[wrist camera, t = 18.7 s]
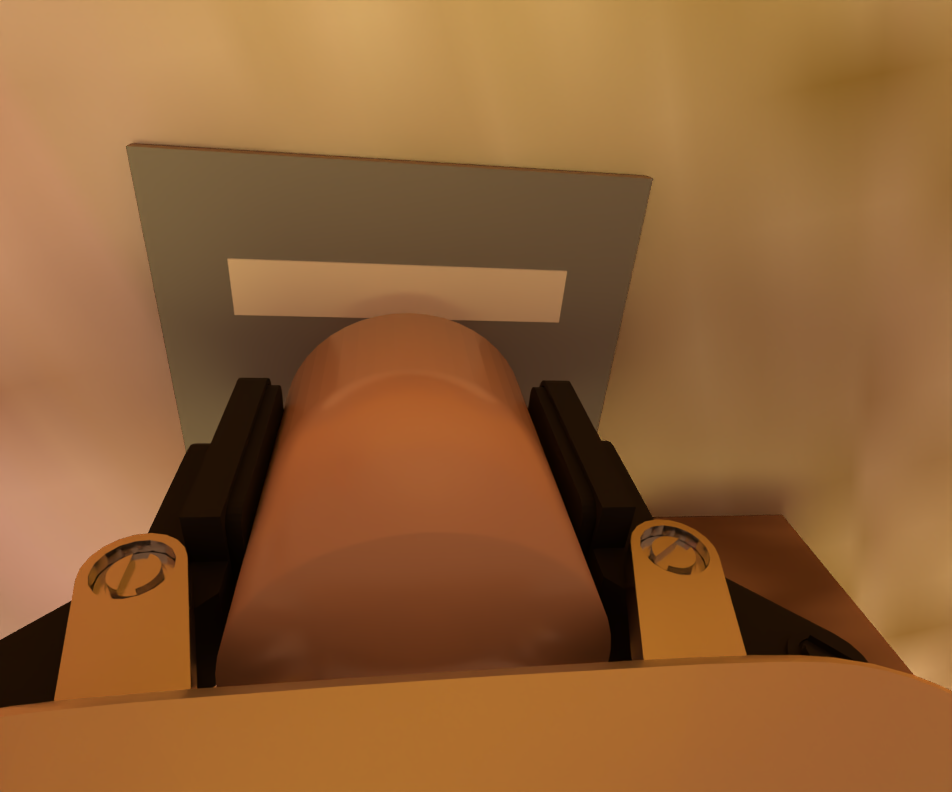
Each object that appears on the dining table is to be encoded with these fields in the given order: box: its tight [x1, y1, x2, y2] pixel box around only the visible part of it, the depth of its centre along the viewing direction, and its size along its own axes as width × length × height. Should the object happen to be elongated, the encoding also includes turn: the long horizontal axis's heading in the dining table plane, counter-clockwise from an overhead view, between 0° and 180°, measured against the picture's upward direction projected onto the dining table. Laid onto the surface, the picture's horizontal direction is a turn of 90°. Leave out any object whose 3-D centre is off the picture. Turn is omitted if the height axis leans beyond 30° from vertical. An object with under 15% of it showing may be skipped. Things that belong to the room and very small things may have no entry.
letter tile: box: [126, 144, 653, 452], centre depth 14 cm, size 10×10×1 cm
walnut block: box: [653, 515, 913, 675], centre depth 17 cm, size 5×5×6 cm
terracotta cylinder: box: [215, 313, 611, 687], centre depth 10 cm, size 5×5×6 cm
